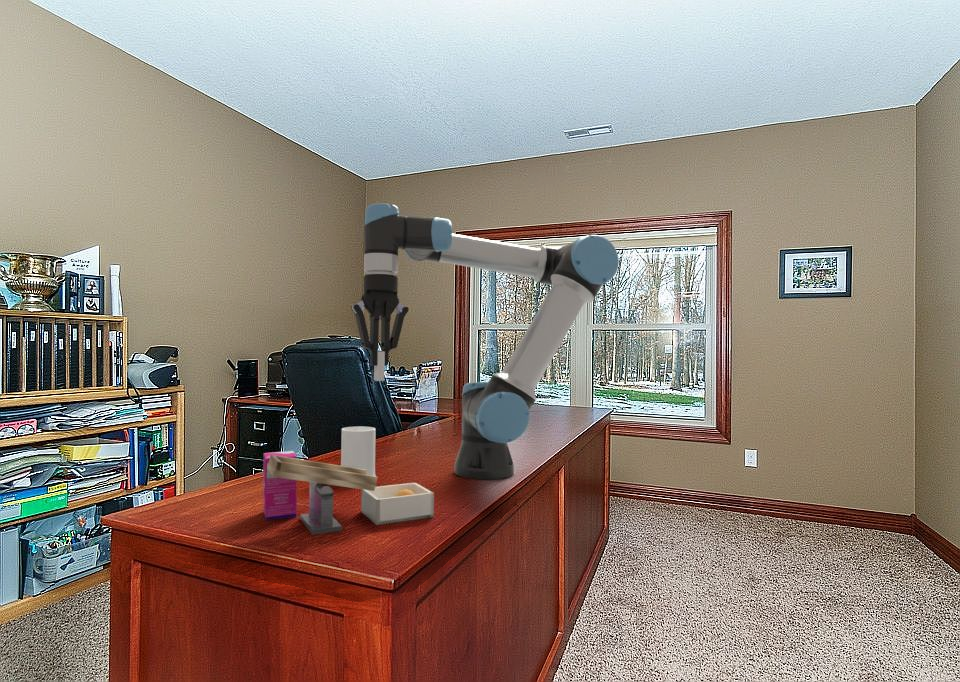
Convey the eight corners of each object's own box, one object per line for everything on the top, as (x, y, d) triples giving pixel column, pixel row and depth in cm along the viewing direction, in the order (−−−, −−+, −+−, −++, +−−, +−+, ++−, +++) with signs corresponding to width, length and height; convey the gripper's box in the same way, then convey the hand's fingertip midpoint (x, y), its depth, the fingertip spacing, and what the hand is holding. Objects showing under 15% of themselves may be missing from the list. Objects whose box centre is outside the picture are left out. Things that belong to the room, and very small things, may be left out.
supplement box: (262, 512, 110) (263, 452, 110) (294, 509, 112) (295, 450, 113) (263, 520, 105) (264, 457, 105) (297, 517, 107) (298, 455, 107)
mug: (355, 470, 147) (356, 423, 147) (386, 472, 145) (387, 425, 145) (333, 481, 136) (334, 430, 136) (366, 483, 134) (367, 432, 134)
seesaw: (353, 475, 116) (356, 463, 116) (374, 490, 104) (377, 477, 104) (261, 461, 107) (265, 448, 108) (273, 476, 96) (277, 461, 96)
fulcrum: (327, 515, 109) (328, 474, 109) (341, 530, 100) (342, 486, 100) (300, 518, 106) (301, 477, 106) (312, 534, 97) (313, 489, 97)
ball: (414, 492, 114) (398, 484, 112) (422, 496, 110) (405, 488, 109) (405, 511, 113) (388, 503, 111) (413, 516, 109) (395, 508, 108)
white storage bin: (414, 504, 117) (415, 482, 117) (433, 516, 109) (433, 493, 109) (361, 511, 111) (361, 488, 111) (376, 525, 103) (376, 499, 103)
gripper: (402, 278, 135) (400, 379, 134) (347, 274, 128) (345, 380, 128) (414, 275, 128) (412, 381, 128) (357, 270, 122) (355, 382, 122)
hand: (379, 380), depth 128 cm, fingers closed
